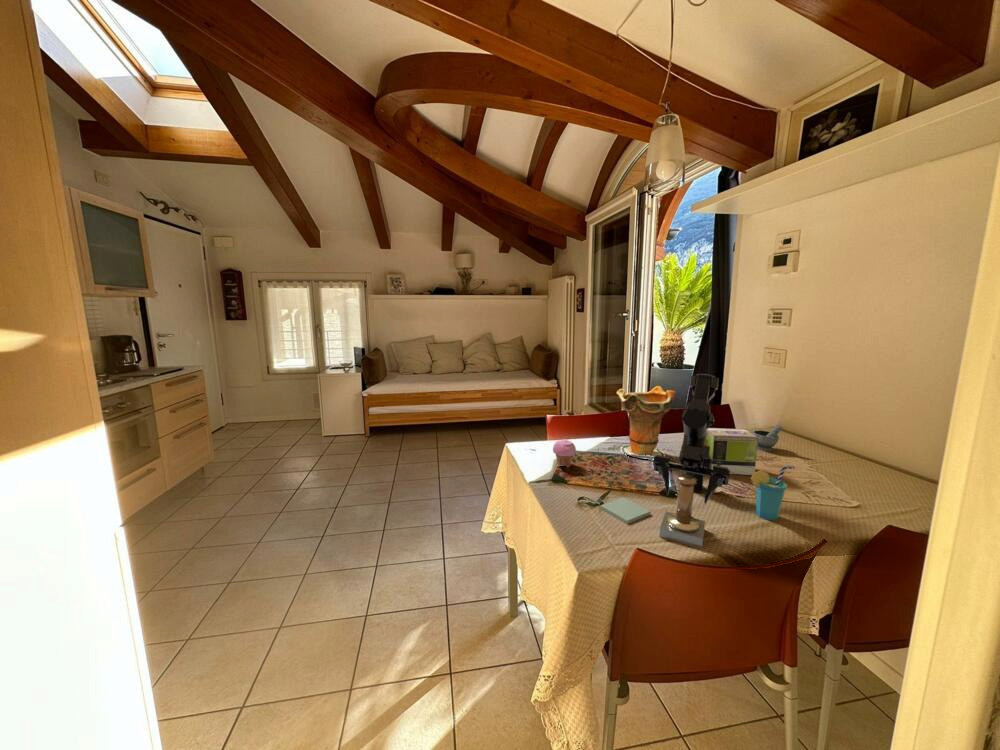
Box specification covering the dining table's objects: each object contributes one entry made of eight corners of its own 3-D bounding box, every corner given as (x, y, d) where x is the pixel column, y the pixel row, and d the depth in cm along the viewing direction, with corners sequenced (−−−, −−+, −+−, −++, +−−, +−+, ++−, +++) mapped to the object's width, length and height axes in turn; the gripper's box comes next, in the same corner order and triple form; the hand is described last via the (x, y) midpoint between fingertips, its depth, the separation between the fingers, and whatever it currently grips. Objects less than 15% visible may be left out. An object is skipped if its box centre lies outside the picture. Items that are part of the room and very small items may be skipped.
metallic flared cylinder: (662, 525, 111) (666, 471, 108) (690, 525, 111) (695, 472, 108) (673, 541, 104) (678, 484, 101) (703, 541, 103) (709, 484, 101)
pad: (623, 501, 125) (623, 497, 125) (650, 515, 117) (650, 511, 116) (600, 510, 120) (600, 505, 120) (626, 525, 111) (627, 520, 111)
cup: (774, 505, 123) (781, 459, 121) (800, 518, 116) (807, 469, 113) (738, 512, 119) (744, 464, 117) (762, 525, 112) (769, 475, 109)
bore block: (664, 521, 114) (665, 511, 113) (704, 531, 109) (705, 520, 109) (659, 538, 105) (660, 527, 105) (701, 550, 101) (702, 539, 100)
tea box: (742, 465, 155) (746, 428, 152) (754, 476, 145) (759, 437, 142) (700, 463, 157) (704, 426, 154) (710, 473, 147) (714, 434, 144)
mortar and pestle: (745, 447, 175) (748, 420, 173) (758, 443, 179) (761, 417, 177) (772, 455, 165) (776, 427, 163) (785, 451, 170) (789, 424, 168)
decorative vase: (602, 446, 172) (609, 382, 168) (645, 443, 181) (653, 382, 176) (634, 464, 153) (643, 392, 149) (681, 460, 162) (690, 392, 157)
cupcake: (575, 471, 148) (576, 445, 146) (551, 469, 149) (552, 443, 148) (575, 461, 157) (576, 437, 155) (552, 460, 158) (553, 435, 156)
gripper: (656, 427, 113) (646, 478, 105) (733, 438, 104) (728, 495, 96) (659, 446, 121) (649, 494, 113) (730, 458, 112) (725, 512, 104)
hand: (685, 498), depth 107 cm, fingers open, 9 cm apart
